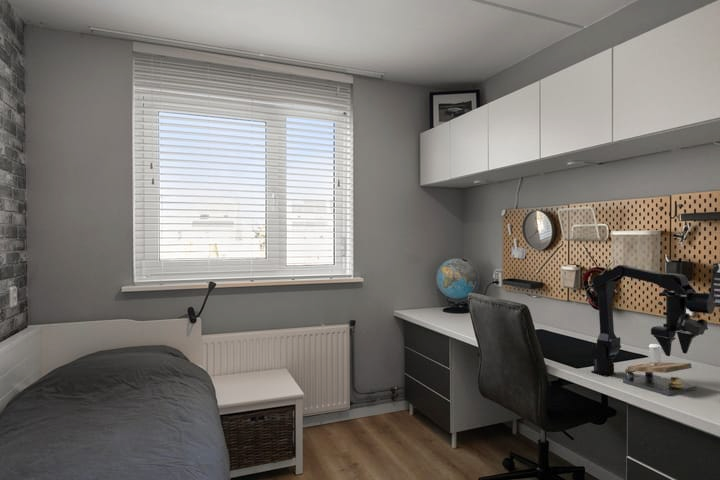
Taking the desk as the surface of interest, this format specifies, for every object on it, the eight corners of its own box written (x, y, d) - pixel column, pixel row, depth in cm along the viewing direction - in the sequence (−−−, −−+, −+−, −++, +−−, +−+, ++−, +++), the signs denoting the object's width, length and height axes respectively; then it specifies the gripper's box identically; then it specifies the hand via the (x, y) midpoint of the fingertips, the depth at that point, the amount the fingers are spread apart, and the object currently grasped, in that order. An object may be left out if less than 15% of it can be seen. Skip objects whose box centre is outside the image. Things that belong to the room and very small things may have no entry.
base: (622, 382, 162) (622, 370, 162) (650, 376, 168) (649, 365, 168) (668, 396, 147) (668, 383, 147) (697, 389, 153) (697, 376, 153)
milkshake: (665, 367, 180) (665, 343, 180) (650, 366, 182) (650, 342, 182) (662, 364, 184) (662, 341, 185) (648, 363, 186) (647, 340, 186)
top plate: (625, 373, 162) (623, 364, 162) (649, 368, 167) (647, 359, 168) (667, 375, 148) (665, 365, 149) (692, 370, 153) (690, 360, 154)
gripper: (683, 315, 140) (684, 363, 140) (718, 311, 147) (719, 357, 147) (649, 310, 150) (649, 355, 150) (683, 307, 158) (683, 349, 157)
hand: (676, 354), depth 151 cm, fingers open, 9 cm apart
